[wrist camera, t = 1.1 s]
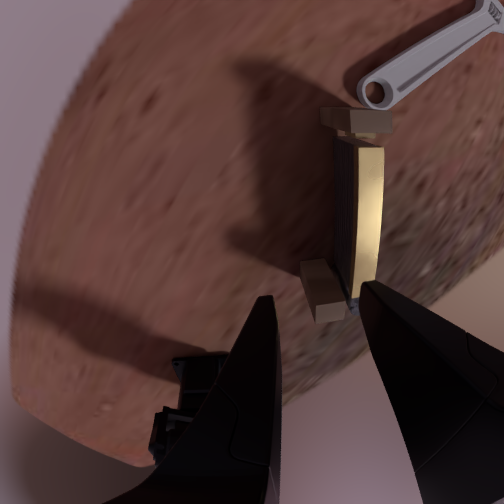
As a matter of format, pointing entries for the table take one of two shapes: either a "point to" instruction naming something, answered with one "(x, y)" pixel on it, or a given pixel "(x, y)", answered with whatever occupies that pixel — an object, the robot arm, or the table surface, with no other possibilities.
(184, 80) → the table surface
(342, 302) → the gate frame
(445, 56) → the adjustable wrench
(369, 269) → the gate panel
